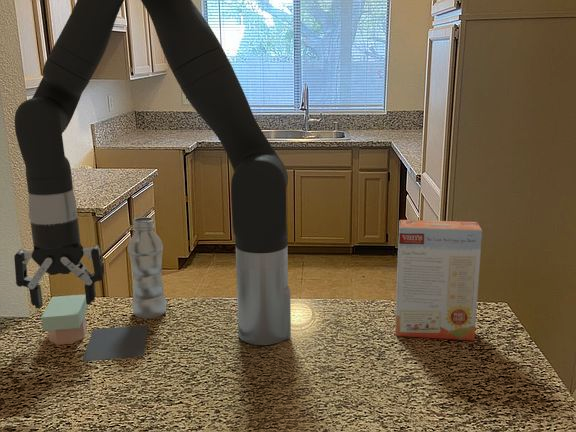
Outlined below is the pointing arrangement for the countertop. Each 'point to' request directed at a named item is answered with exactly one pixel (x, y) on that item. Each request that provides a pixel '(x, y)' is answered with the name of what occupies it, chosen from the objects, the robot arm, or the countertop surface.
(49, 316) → the block
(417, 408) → the countertop surface
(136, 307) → the plastic bottle
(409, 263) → the cracker box
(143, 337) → the mat
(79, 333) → the bowl
